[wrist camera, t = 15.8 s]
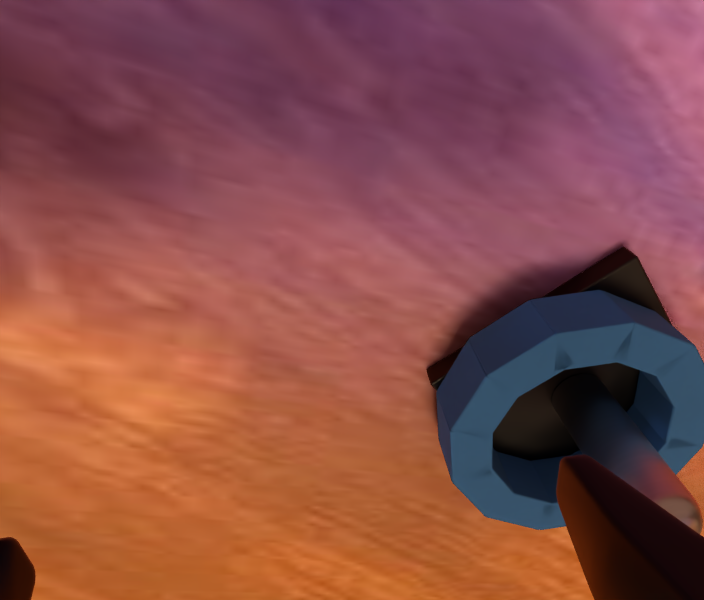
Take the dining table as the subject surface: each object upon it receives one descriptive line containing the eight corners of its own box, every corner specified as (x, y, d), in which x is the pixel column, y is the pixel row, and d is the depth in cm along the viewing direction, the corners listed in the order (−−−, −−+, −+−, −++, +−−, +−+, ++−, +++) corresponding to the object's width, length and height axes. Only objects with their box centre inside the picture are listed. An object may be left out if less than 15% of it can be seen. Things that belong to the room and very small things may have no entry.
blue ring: (508, 514, 26) (526, 559, 24) (389, 387, 21) (399, 428, 19) (707, 408, 23) (747, 448, 21) (619, 241, 19) (658, 271, 17)
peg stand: (523, 484, 26) (605, 661, 19) (425, 369, 22) (481, 538, 15) (698, 390, 24) (862, 550, 17) (623, 245, 20) (795, 373, 13)
